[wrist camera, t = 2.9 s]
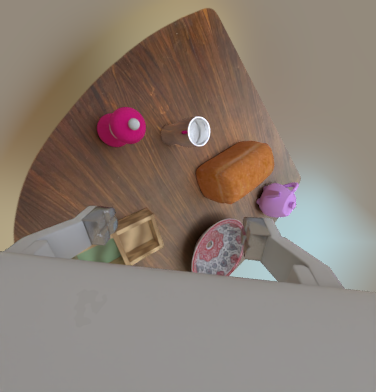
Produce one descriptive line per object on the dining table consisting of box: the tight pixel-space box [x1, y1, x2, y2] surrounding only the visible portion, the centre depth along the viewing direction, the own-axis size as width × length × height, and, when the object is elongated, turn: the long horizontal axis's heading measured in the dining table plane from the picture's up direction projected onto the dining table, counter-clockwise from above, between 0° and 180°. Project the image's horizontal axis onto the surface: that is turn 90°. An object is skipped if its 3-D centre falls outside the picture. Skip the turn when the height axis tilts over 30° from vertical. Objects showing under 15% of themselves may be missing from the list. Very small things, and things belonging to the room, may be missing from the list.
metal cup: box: [161, 117, 210, 147], centre depth 45 cm, size 7×7×15 cm
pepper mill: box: [97, 107, 146, 147], centre depth 34 cm, size 7×7×20 cm
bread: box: [196, 141, 274, 204], centre depth 61 cm, size 14×26×16 cm, turn 113°
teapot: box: [257, 182, 299, 217], centre depth 82 cm, size 20×20×15 cm
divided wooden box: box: [71, 208, 164, 265], centre depth 48 cm, size 23×12×6 cm, turn 103°
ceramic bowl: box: [191, 218, 243, 276], centre depth 70 cm, size 29×29×8 cm
